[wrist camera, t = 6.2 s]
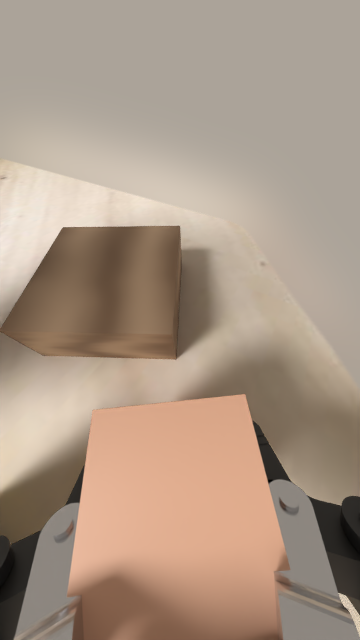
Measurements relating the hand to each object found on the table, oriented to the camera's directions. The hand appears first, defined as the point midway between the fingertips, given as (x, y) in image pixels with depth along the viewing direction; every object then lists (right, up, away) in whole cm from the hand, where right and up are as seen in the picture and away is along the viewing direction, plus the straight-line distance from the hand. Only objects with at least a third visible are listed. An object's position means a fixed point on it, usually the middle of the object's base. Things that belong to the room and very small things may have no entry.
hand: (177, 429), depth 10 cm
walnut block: (-6, +7, +10) cm, 14 cm away
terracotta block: (0, -4, +3) cm, 5 cm away
